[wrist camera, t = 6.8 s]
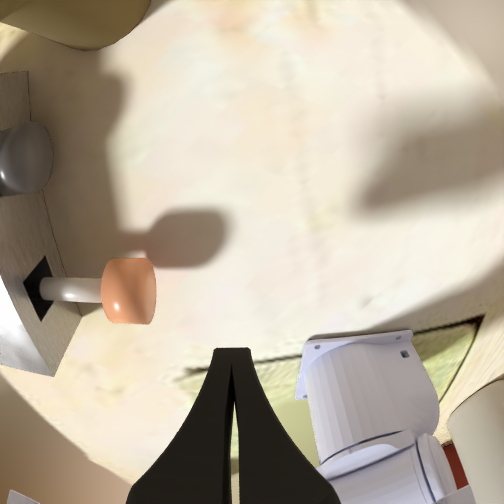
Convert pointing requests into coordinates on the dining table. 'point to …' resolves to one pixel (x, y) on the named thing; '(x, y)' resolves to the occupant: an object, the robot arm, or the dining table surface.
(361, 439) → the robot arm
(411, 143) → the dining table surface
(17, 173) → the gray knob
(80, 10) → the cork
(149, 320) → the terracotta knob
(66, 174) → the dining table surface
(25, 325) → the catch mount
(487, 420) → the cylinder vase
